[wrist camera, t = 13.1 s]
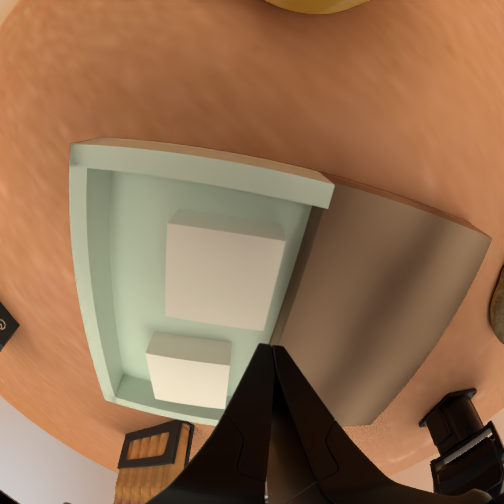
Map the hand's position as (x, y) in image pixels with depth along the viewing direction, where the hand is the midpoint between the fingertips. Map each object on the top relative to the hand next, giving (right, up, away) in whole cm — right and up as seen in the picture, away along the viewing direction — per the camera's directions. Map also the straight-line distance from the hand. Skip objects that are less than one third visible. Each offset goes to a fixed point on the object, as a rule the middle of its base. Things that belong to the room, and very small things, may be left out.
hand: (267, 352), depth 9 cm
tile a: (-5, -4, +9) cm, 11 cm away
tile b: (-2, +3, +5) cm, 7 cm away
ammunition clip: (-11, -16, +16) cm, 25 cm away
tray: (-5, 0, +7) cm, 9 cm away
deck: (+6, -2, +8) cm, 11 cm away
